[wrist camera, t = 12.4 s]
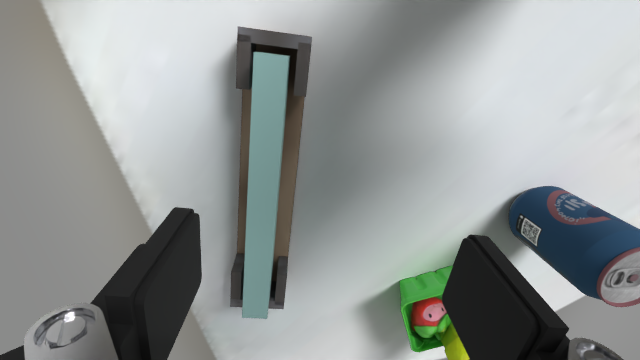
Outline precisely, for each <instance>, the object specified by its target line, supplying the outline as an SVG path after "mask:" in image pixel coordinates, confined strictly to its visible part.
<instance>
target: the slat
mask: <svg viewBox="0 0 640 360" xmlns="http://www.w3.org/2000/svg"><path fill="white" fill-rule="evenodd" d="M289 67H290V55H282V54H275V53H267V52H254V57H253V79H252V102H251V125H250V148H249V171H248V194H247V217H246V239H245V262H244V285H243V308H242V318H264V319H267V315H268V307H269V298H270V290H271V281H272V270H273V258H274V246H275V235H276V223H277V211H278V199H279V187H280V175H281V163H282V151H283V139H284V127H285V115H286V103H287V91H288V79H289Z"/></svg>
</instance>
